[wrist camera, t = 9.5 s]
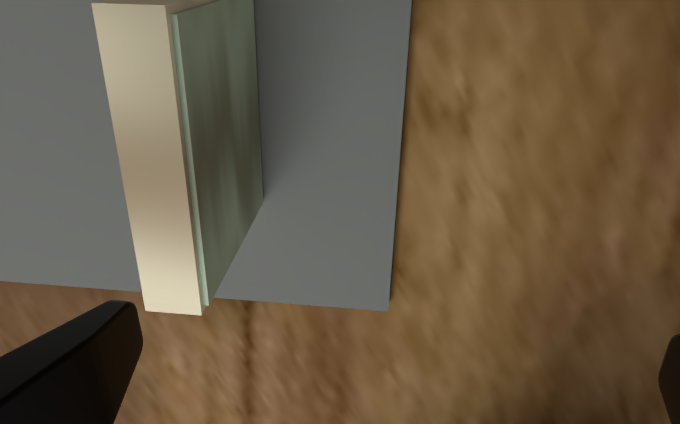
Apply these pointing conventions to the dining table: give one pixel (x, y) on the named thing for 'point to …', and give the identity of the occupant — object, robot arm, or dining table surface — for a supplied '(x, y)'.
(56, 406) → the robot arm
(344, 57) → the mat
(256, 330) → the dining table surface
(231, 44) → the tile
